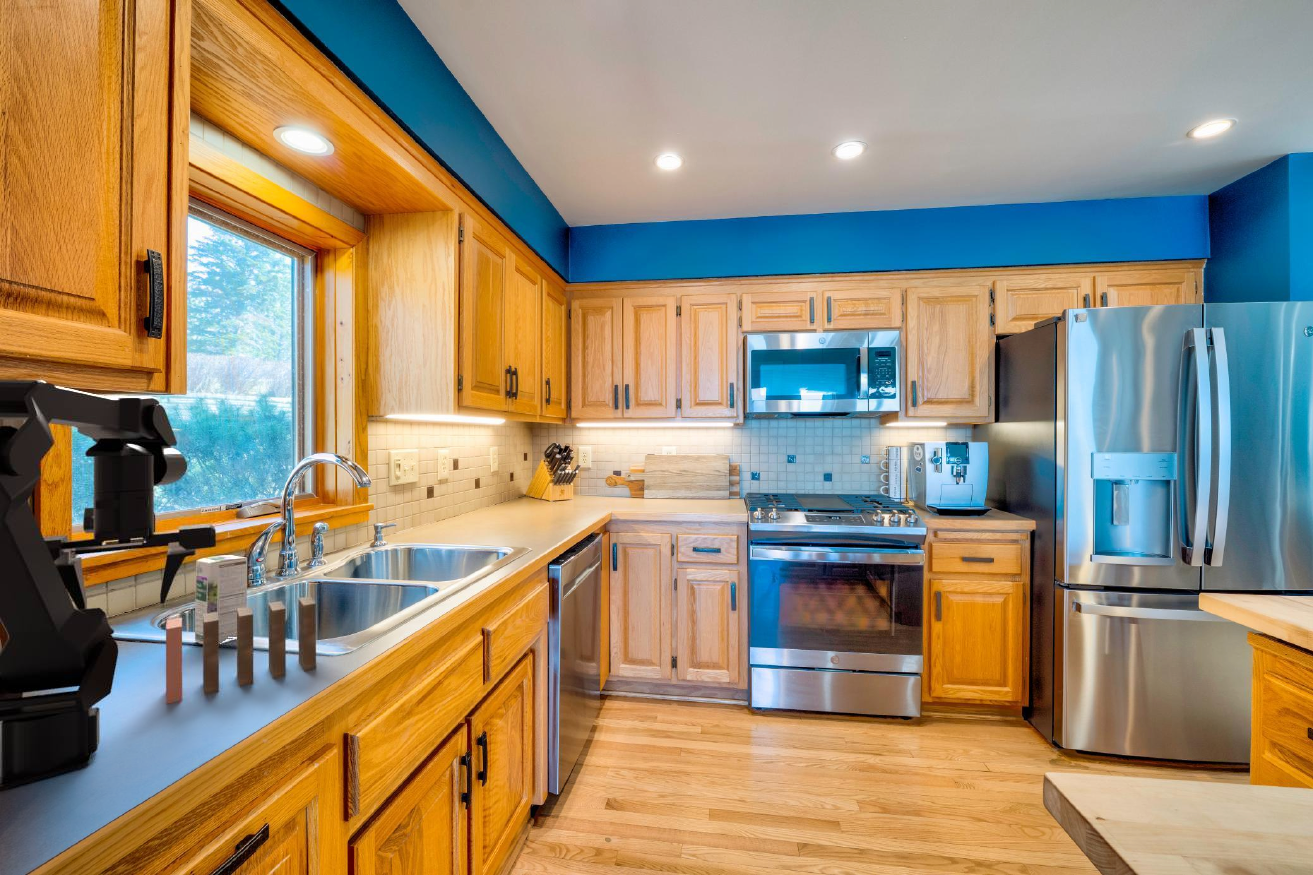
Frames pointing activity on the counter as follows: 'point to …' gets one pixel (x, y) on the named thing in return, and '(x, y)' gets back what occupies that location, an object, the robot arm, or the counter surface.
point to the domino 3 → (244, 646)
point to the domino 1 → (173, 660)
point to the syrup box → (220, 593)
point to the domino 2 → (210, 653)
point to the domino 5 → (307, 633)
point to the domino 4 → (277, 639)
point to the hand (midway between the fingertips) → (124, 608)
